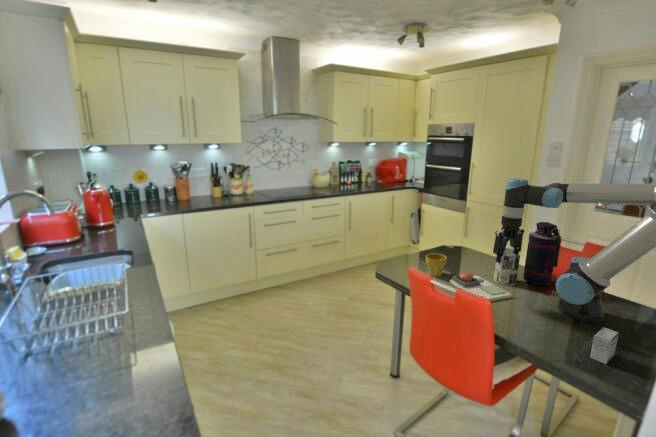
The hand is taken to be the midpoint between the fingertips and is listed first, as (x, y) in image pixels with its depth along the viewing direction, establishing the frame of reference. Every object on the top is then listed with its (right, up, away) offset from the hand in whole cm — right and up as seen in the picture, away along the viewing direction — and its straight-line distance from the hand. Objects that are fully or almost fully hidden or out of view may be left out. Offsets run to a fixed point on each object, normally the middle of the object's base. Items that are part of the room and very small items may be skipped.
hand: (504, 268), depth 146 cm
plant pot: (-20, -8, +32) cm, 38 cm away
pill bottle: (0, -1, 0) cm, 1 cm away
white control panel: (-5, -12, +14) cm, 19 cm away
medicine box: (+14, -24, -34) cm, 44 cm away
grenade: (+28, -10, +22) cm, 37 cm away
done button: (-9, -8, +18) cm, 22 cm away
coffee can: (+12, -10, +23) cm, 28 cm away
